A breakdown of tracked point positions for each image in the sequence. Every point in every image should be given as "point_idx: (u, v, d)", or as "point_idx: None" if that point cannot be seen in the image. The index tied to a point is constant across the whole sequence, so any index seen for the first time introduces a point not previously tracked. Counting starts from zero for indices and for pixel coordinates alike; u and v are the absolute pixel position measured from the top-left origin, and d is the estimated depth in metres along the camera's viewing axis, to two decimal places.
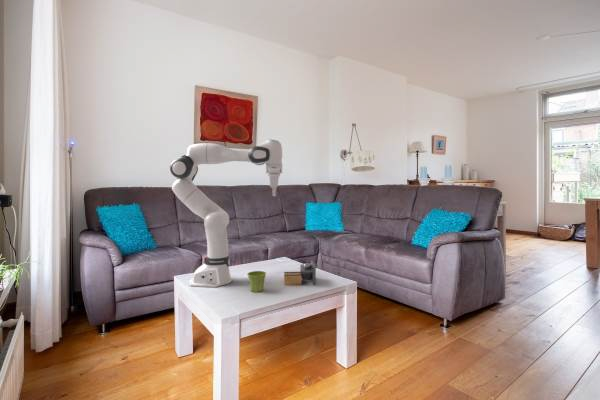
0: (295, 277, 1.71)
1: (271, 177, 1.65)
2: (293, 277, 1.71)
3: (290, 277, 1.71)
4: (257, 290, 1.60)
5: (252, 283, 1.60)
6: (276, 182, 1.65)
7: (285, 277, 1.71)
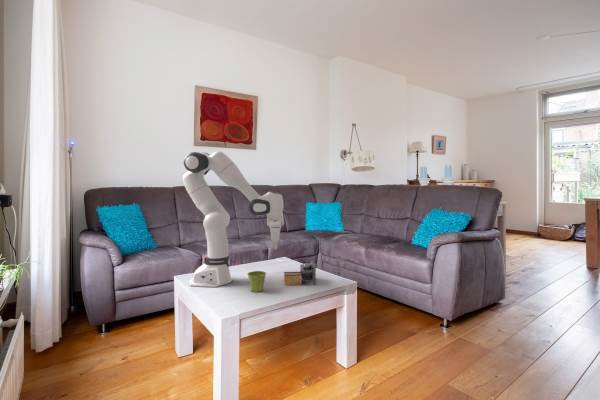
0: (295, 277, 1.71)
1: (272, 231, 1.63)
2: (293, 277, 1.71)
3: (290, 277, 1.71)
4: (257, 290, 1.60)
5: (252, 283, 1.60)
6: (277, 236, 1.63)
7: (285, 277, 1.71)
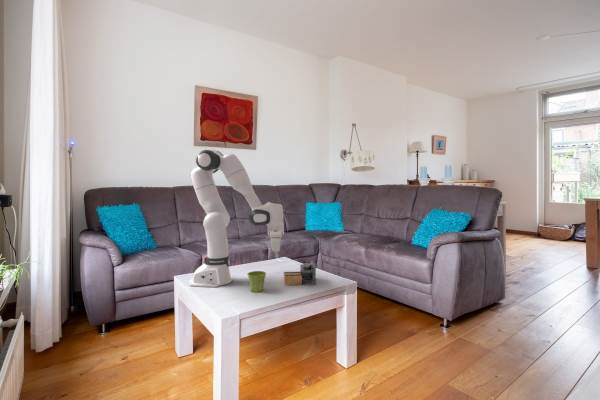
0: (295, 277, 1.71)
1: (273, 242, 1.63)
2: (293, 277, 1.71)
3: (290, 277, 1.71)
4: (257, 290, 1.60)
5: (252, 283, 1.60)
6: (278, 246, 1.63)
7: (285, 277, 1.71)
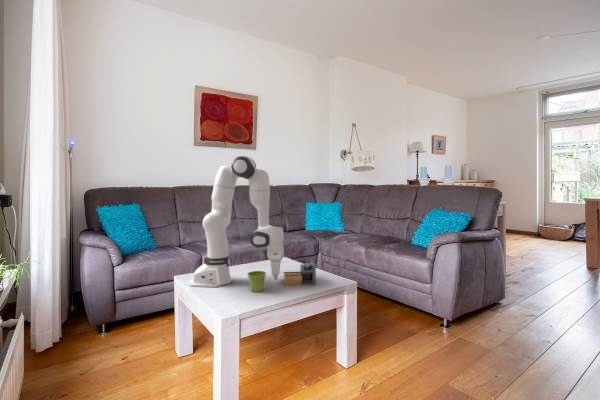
0: (295, 277, 1.71)
1: (273, 265, 1.64)
2: (293, 277, 1.71)
3: (290, 277, 1.71)
4: (257, 290, 1.60)
5: (252, 283, 1.60)
6: (277, 270, 1.64)
7: (285, 277, 1.70)
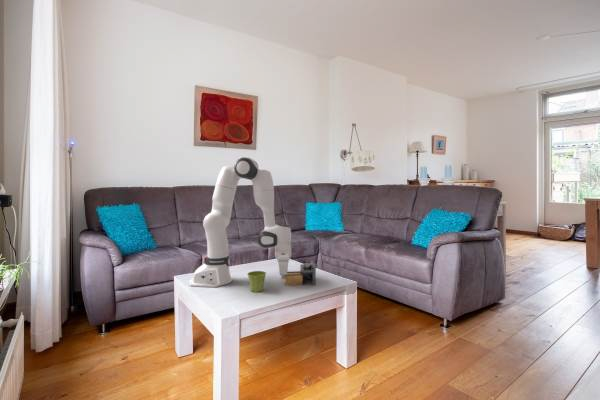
0: (296, 277, 1.71)
1: (280, 265, 1.64)
2: (294, 277, 1.71)
3: (291, 277, 1.71)
4: (257, 290, 1.60)
5: (252, 283, 1.60)
6: (285, 270, 1.64)
7: (286, 277, 1.71)
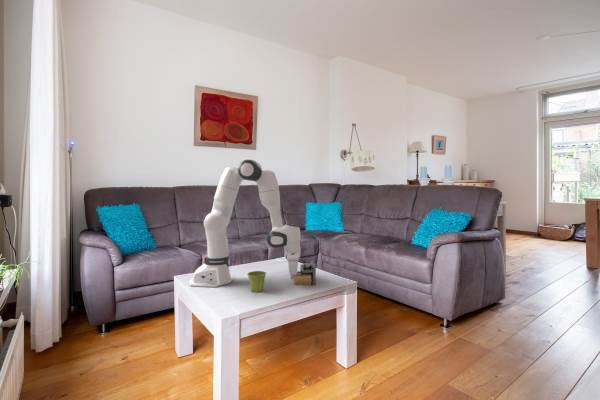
0: (305, 277, 1.72)
1: (290, 265, 1.65)
2: (303, 277, 1.72)
3: (300, 277, 1.72)
4: (257, 290, 1.60)
5: (252, 283, 1.60)
6: (295, 270, 1.65)
7: (295, 277, 1.71)
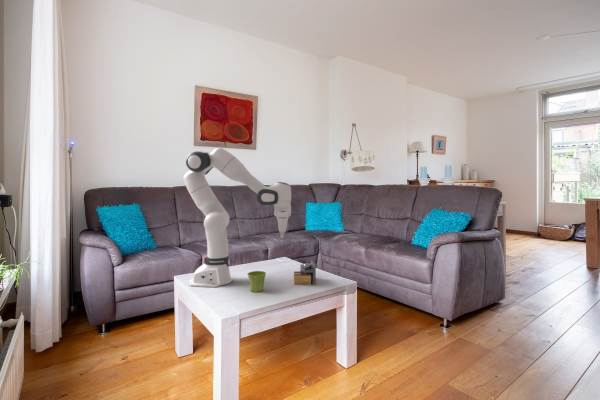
0: (305, 277, 1.72)
1: (280, 222, 1.63)
2: (303, 277, 1.72)
3: (300, 277, 1.72)
4: (257, 290, 1.60)
5: (252, 283, 1.60)
6: (285, 227, 1.63)
7: (295, 277, 1.71)
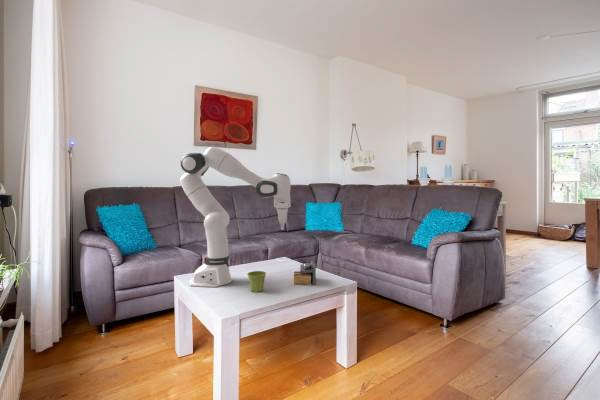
0: (304, 277, 1.72)
1: (280, 213, 1.63)
2: (302, 277, 1.72)
3: (300, 277, 1.72)
4: (257, 290, 1.60)
5: (252, 283, 1.60)
6: (284, 218, 1.63)
7: (295, 276, 1.72)
